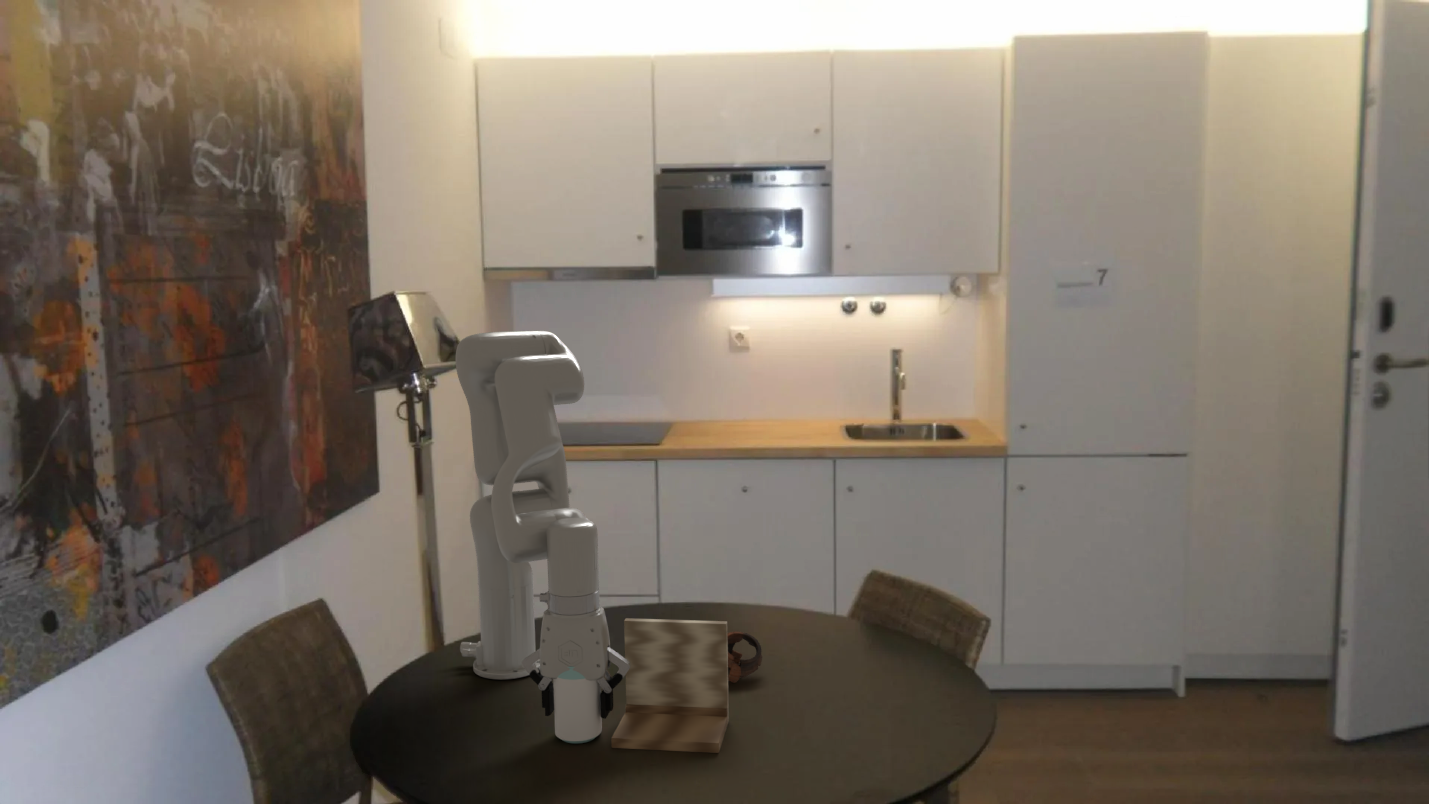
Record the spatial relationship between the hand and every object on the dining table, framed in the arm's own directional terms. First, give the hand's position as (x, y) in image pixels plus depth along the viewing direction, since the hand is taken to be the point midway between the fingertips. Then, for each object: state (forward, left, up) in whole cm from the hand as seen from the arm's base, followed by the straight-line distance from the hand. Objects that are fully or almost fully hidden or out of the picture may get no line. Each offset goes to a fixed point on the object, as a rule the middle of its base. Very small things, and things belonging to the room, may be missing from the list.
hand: (578, 713), depth 158 cm
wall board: (+14, +2, -3) cm, 15 cm away
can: (0, 0, -4) cm, 4 cm away
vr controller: (+19, +27, -4) cm, 34 cm away
